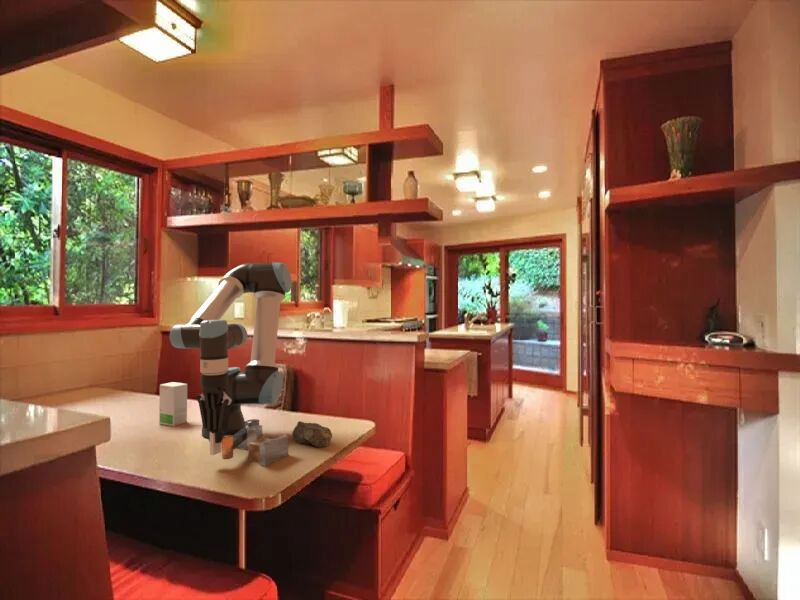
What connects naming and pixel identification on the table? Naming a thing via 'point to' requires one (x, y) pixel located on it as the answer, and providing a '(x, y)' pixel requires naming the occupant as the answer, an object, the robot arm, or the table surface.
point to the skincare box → (173, 404)
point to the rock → (312, 434)
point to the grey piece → (270, 449)
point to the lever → (241, 437)
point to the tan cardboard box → (256, 449)
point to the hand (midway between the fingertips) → (215, 453)
